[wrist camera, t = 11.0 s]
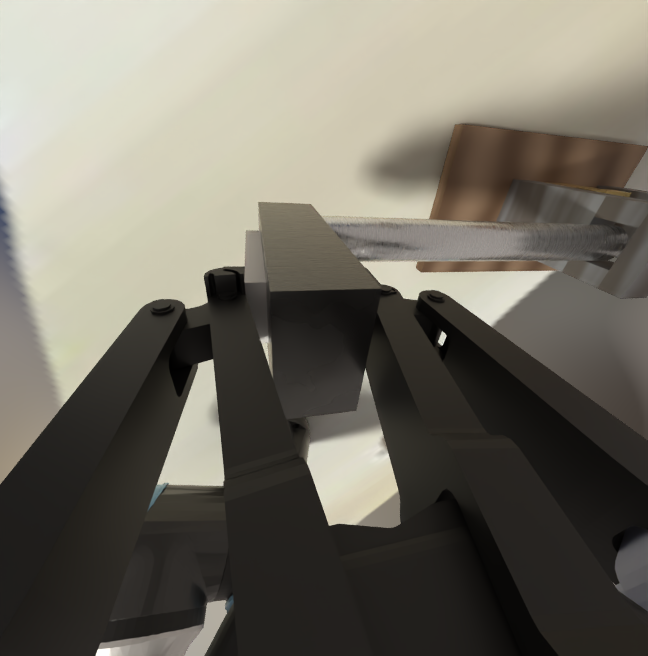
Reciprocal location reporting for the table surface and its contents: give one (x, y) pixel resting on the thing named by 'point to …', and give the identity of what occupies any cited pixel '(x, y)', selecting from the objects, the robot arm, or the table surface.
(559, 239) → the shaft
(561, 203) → the shaft stand
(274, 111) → the table surface
